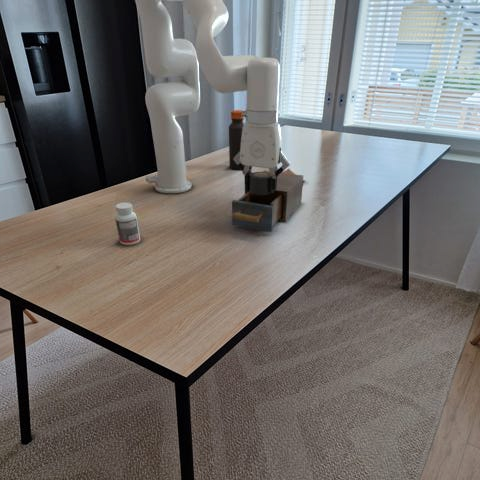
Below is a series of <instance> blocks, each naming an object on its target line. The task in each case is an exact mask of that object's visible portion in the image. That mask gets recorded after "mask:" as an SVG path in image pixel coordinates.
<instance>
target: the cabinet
mask: <svg viewBox="0 0 480 480" xmlns="http://www.w3.org/2000/svg"><path fill="white" fill-rule="evenodd" d="M262 172H268V173H270V171H269V170H263V171H262ZM295 174H296V173H295ZM295 174H287V173H280V174H279V175H278V176H277V188H276V190H275V191H274V192H273V193H277V194H284V205H283V215H282V216H281V217H280V219H279V220H278V221H277V222H284V223H285V222H287V221H288V219H290V217H291V216H292V215H293V214H294V212H296V210H297V209H298V208H299V207H300V206H301V204H302V197H303V187H304V186H303V185H304V182H303V180H304V174H303V175H302V174H296V175H295ZM248 191H249V190H246V186H245V185H244V195H245V194H246V193H247V192H248Z"/></svg>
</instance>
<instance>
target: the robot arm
mask: <svg viewBox="0 0 480 480" xmlns="http://www.w3.org/2000/svg"><path fill="white" fill-rule="evenodd" d="M162 1H164V0H134V2H135V5H136V8H137V12H138V15H139V18H140V24H141V33H142V41H143V50H144V59H145V64H146V69H147V71H148V73H149V75H150V76H152V77H154V78H156V79H157V78H158V79H165V78H176V77H177V81H168V82H160V83H155V84H153V85H151V86H149V87H148V88H147V90H146V92H145V96H144V100H145V106H146V109H147V113H148V116H149V120H150V124H151V130H152V138H153V145H154V153H155V162H156V169H157V174H155V175H145V181H146V182H148V184H154V189H155V191H157V192H158V193H161V194H181V193H185V192H187V191H189V190H191V189H192V187H193V186H192V182H191V181H190V180H188V178H187V168H186V167H187V166H186V155H185V145H184V134H183V130H182V127H181V126H180V124H179V122H178V121H177V119H176V118H177V117H183V116H188V115H192V114H195V113H197V111H198V110H199V108H200V104H201V87H200V70H201V72H202V74H203V76H204V77H205V79H206V81H207V82H208V84H209V85H210V86H211V88H212V89H213V90H214V91H215V92H217V93H219V94H231V93H237V92H246V109H245V110H242V117H244V119H245V121H246V122H244V125H243V130H242V137H241V148H240V152H239V153H238V154H237V155H236V156H235V157H234V158H233V160H234V161H235V162H236V164H237V165H238V166H239V168H240V169H241V170H240V171H241V172H242V175H243V176H244V187H245V186H246V190H249V186H250V174H251V173H253V172H252V170H253V169H252V168H253V167H254V168H261V169H268V171H270V174H271V178H270V179H269V193H271V194H272V193H273V192H274V191H275V190H276V188H277V176H278V175H279V174H280V173H282V172H283V171H286V170H287V169H288V168H289V167H290V165H291V162H290V161H289V160H288V159H287V157H286V156H285V154H284V153H283V149H282V146H283V143H282V142H283V141H282V132H281V130H282V129H281V125H280V123H279V122H278V119H279V118H278V117H279V116H278V114H279V91H280V90H279V89H280V71H281V70H280V69H281V66H280V62H279V60H278V59H277V58H275V57H260V56H257V55H253V54H242V55H241V54H238V55H237V54H236V55H225V56H224V55H223V54H222V52H221V51H220V49H219V48H218V46H217V43H216V41H215V37H216V36H218V35H219V34H221V32H222V31H223V29H224V28H225V27H226V25H227V23H228V20H229V11H228V7H227V6H226V5H225V3H224V1H223V0H168V1H170V2H171V1H172V2H181V3H182V5H183V7H184V8H185V10H186V12H187V14H188V16H189V17H190V20H191V21H192V23H193V25H194V27H195V29H196V31H197V33H196V35H195V36H196V37H195V46H194V44H193V43H192V42H191V41H190V40H188V39H185V38H174V33H173V22H172V18H171V15H170V13H169V11H168V10H167V8H166V6H165V5H164V4H163V3H164V2H162ZM199 69H200V70H199ZM279 164H281V166H280V167H279V168H278V165H279Z"/></svg>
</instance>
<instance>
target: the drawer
mask: <svg viewBox="0 0 480 480" xmlns="http://www.w3.org/2000/svg"><path fill="white" fill-rule="evenodd" d="M283 205H284V194H277V193H272V194H271V193H270V194H268V195H253V194H251V193H250V192H249V191H248V192H247V193H246V194H245V193H244V194H243V195H242V196H241V197H240V198H239V199H238V200H237V199H232V200H231V216H232V217H231V218H232V219H231V220H232V221H231V222H232V224H231V225H232V226H233V227H238V228H239V227H240V228H246V229H251V230H256V231H263V232H267V233H268V232H269V233H272V232H274V225H275V224H277V222H279V221H278V220H279V219H280V217H281V216H282V215H283Z"/></svg>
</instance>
